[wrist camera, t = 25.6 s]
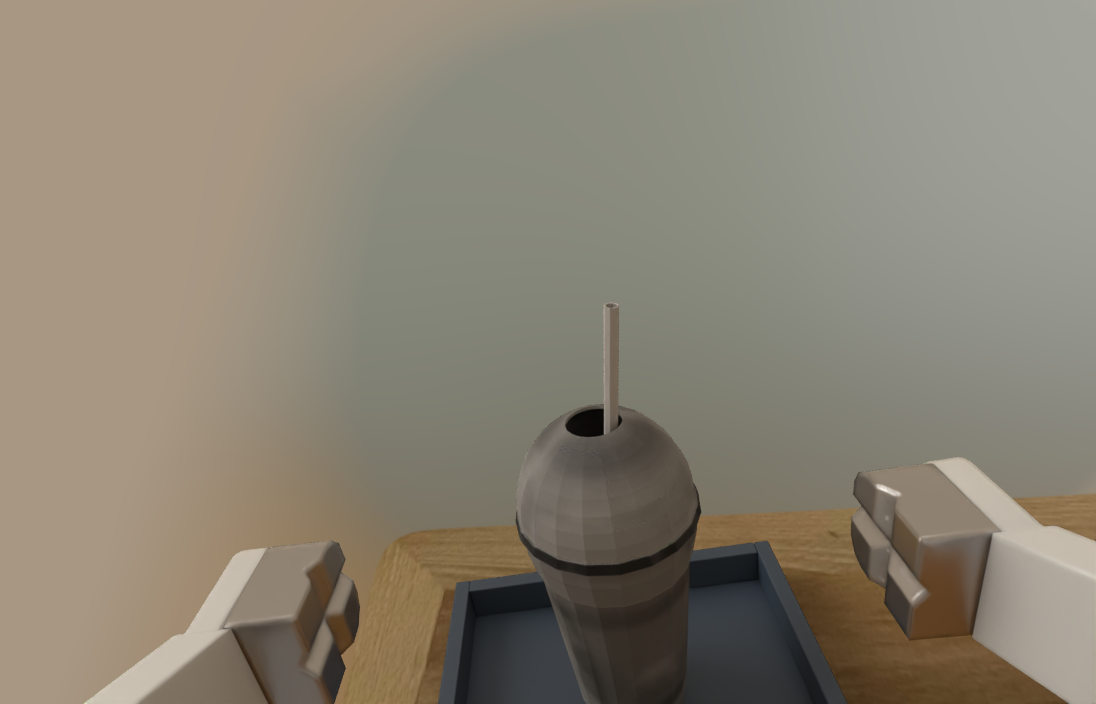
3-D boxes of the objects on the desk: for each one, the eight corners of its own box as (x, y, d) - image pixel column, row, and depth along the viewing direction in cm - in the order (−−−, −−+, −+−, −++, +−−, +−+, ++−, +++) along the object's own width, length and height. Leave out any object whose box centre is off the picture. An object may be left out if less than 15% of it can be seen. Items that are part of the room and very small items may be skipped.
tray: (430, 899, 24) (413, 861, 23) (466, 615, 36) (456, 582, 35) (893, 847, 23) (899, 806, 22) (768, 574, 35) (767, 539, 34)
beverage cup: (578, 626, 33) (510, 276, 25) (717, 642, 31) (693, 264, 23) (540, 762, 27) (434, 357, 19) (712, 795, 25) (676, 351, 17)
